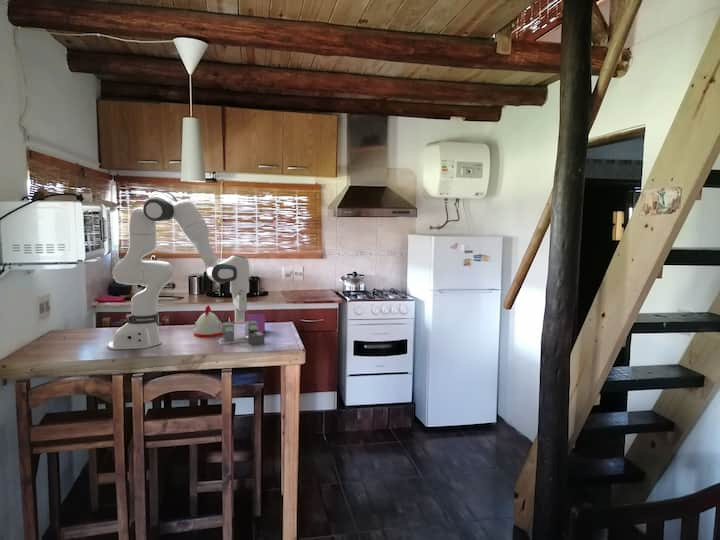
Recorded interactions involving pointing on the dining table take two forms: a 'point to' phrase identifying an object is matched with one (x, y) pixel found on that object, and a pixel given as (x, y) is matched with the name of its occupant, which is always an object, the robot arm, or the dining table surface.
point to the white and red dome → (208, 325)
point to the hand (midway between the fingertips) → (239, 317)
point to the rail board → (229, 333)
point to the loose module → (238, 317)
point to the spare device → (256, 339)
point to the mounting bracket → (259, 319)
